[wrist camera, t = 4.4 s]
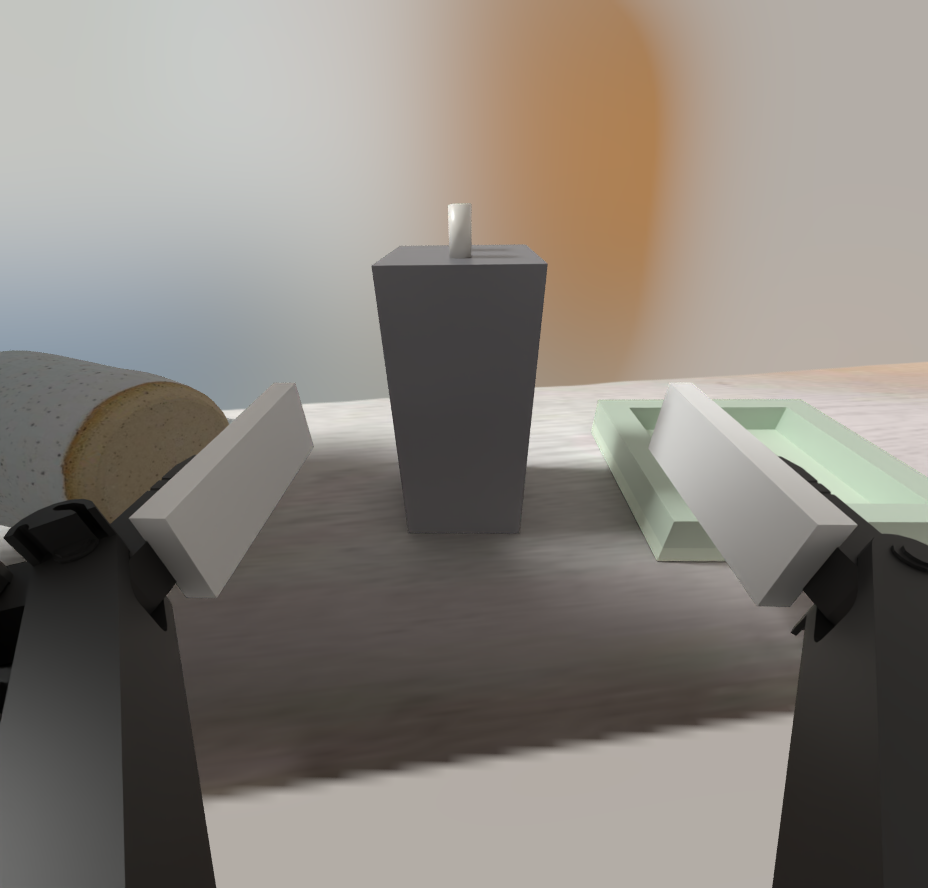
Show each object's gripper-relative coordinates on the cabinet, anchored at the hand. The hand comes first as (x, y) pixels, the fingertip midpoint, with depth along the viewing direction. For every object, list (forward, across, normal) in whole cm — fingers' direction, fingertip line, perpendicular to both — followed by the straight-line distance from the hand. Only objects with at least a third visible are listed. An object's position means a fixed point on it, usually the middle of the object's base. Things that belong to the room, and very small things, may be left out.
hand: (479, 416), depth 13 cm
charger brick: (+2, -1, -6) cm, 6 cm away
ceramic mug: (+2, -16, -6) cm, 18 cm away
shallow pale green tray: (+3, +13, -6) cm, 15 cm away
